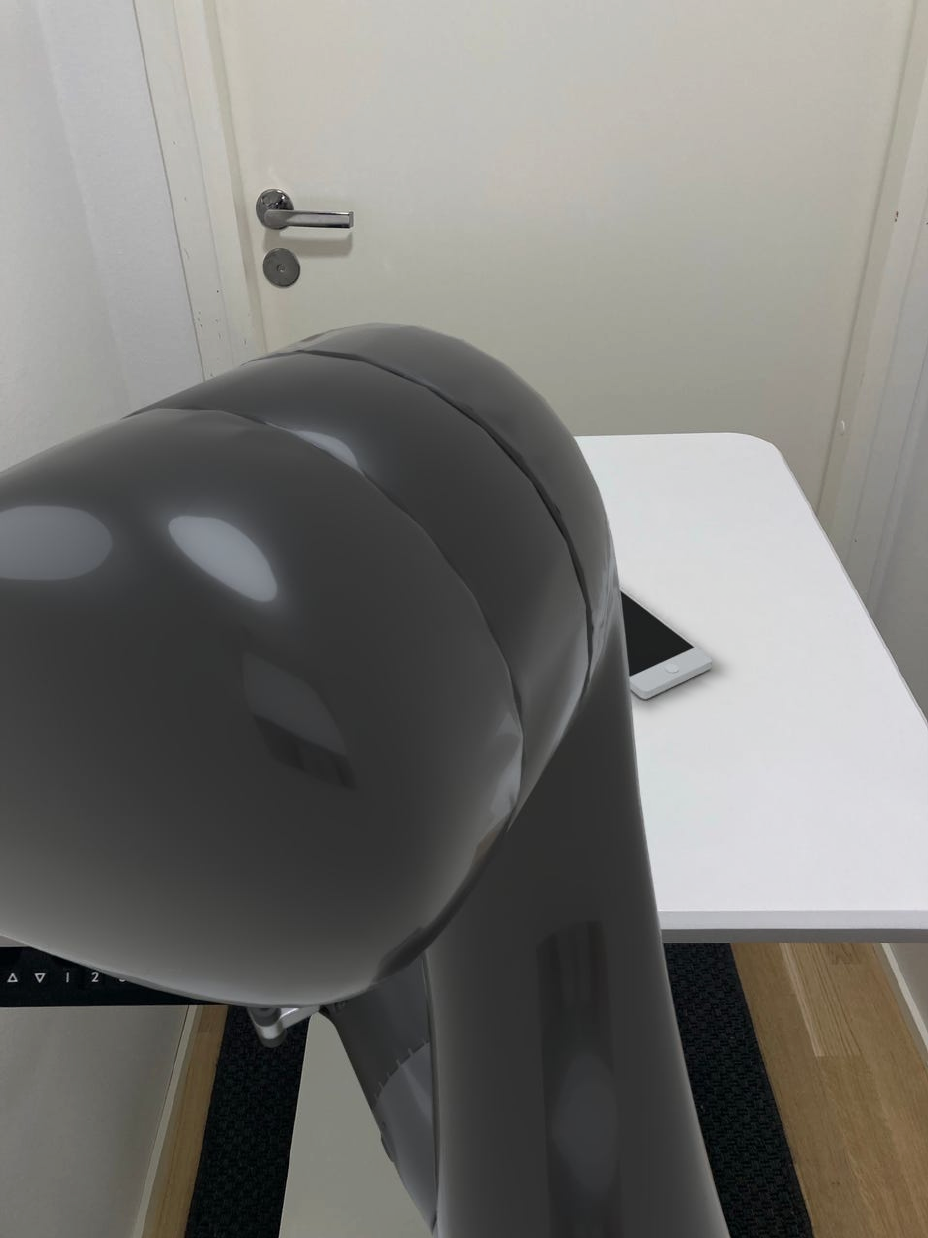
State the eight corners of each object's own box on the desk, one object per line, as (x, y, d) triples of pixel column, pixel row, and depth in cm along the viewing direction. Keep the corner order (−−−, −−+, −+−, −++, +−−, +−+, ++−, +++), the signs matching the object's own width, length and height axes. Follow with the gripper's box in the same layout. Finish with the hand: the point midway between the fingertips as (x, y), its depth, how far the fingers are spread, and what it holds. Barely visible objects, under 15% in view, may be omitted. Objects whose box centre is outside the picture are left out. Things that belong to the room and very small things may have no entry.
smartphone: (643, 701, 75) (644, 691, 74) (529, 601, 86) (529, 592, 85) (713, 668, 78) (714, 658, 77) (594, 575, 88) (594, 567, 88)
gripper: (611, 957, 41) (441, 721, 52) (283, 1119, 36) (177, 819, 47) (602, 1052, 45) (448, 815, 57) (310, 1208, 40) (207, 914, 52)
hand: (325, 817), depth 52 cm, fingers open, 8 cm apart
